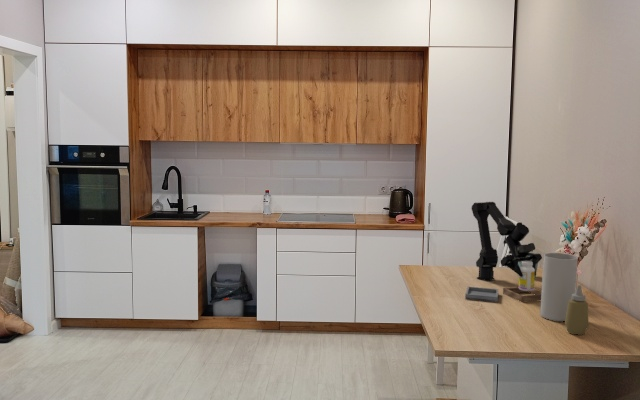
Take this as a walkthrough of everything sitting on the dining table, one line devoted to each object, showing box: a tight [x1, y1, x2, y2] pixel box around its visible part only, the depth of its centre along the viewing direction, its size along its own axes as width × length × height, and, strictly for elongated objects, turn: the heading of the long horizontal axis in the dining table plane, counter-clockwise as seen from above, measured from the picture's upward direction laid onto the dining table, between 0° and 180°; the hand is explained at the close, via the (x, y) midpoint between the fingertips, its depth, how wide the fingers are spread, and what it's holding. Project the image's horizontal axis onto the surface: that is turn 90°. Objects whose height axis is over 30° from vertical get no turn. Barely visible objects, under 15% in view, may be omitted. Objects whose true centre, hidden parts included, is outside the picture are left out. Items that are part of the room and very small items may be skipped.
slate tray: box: [464, 286, 499, 303], centre depth 264 cm, size 14×14×2 cm
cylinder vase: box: [539, 252, 579, 323], centre depth 234 cm, size 12×12×25 cm
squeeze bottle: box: [564, 284, 590, 336], centre depth 216 cm, size 8×8×18 cm
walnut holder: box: [502, 286, 542, 303], centre depth 265 cm, size 14×14×2 cm
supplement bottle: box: [518, 261, 535, 291], centre depth 264 cm, size 7×7×13 cm
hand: (528, 275), depth 262 cm, fingers closed on supplement bottle, 7 cm apart
